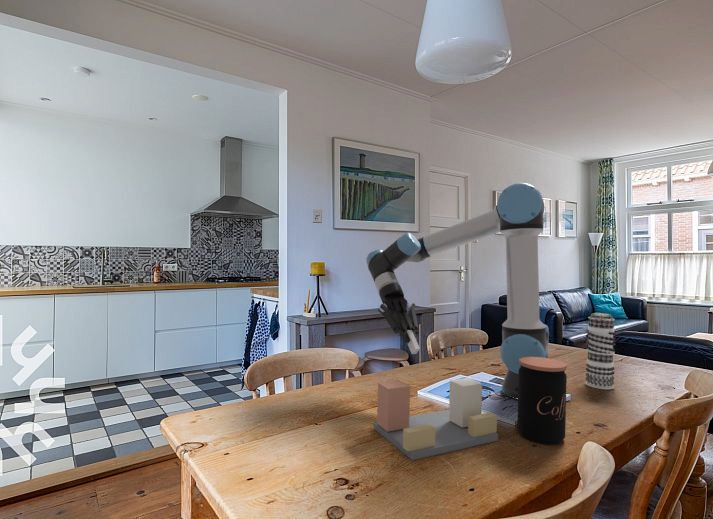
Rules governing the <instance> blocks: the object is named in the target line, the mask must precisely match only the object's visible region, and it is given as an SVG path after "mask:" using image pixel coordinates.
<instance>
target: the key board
mask: <svg viewBox="0 0 713 519" xmlns="http://www.w3.org/2000/svg"><path fill="white" fill-rule="evenodd" d="M497 424H498V415H497V414H495V413H493V412H492V411H491V412H486V413H481V414H480V415H474V416H469V417H468V427H463V428H462V427H460V426H458V425H457V424H455V423H453V422H452V421H450V420H449V409H444V410H438V411H432V412H428V413H421V414H415V415H409V428H405V429H400V430H394V431H389V432H387V431H386V430H384V429H383V428H382V427H381V426H379V425H378V424H377V421H376V422H374V425H373V429H374V430H375V431H377V433H378V434H380V435H381V436H382V437H384V439H386V440H387V441H388V442H389V443H391V444H392V445H393V446H394V447H396V448H397V449H398V450H399V451H400V452H401V453H403V454H404V455H405V456H407V457H408V458H409V459H410V461H416V460H421V459H424V458H429V457H432V456H437V455H441V454H442V455H443V454H445V453H450V452H454V451H455V452H456V451H458V450H464V449H467V448H472V447H476V446H481V445H485V444H488V443H493V442H498V441H499V433H497V431H498V430H497V429H498V427H497V426H498V425H497Z"/></svg>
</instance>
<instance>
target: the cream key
mask: <svg viewBox="0 0 713 519" xmlns="http://www.w3.org/2000/svg"><path fill="white" fill-rule="evenodd" d="M448 398H449V400H448V402H449V403H448V405H449V407H448V408H449V409H448V410H449V420H450V421H452V422H453V423H455V424H457V425H458V426H460V427H462V428H463V427H468V417H469V416H474V415H480V414H482V406H483V405H482V404H483V401H482V400H483V382H479V381H477V380H474V379H472V378H470V377H466V378H465V377H464V378H457V379H450V380H449V397H448Z"/></svg>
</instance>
